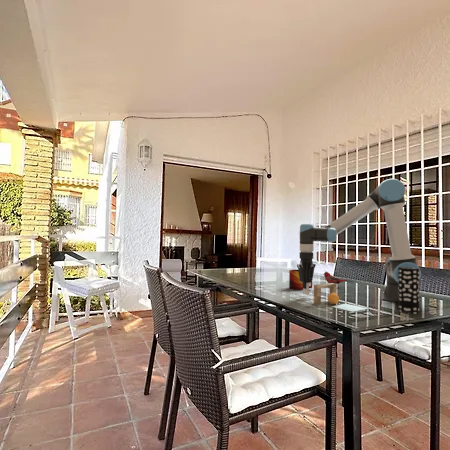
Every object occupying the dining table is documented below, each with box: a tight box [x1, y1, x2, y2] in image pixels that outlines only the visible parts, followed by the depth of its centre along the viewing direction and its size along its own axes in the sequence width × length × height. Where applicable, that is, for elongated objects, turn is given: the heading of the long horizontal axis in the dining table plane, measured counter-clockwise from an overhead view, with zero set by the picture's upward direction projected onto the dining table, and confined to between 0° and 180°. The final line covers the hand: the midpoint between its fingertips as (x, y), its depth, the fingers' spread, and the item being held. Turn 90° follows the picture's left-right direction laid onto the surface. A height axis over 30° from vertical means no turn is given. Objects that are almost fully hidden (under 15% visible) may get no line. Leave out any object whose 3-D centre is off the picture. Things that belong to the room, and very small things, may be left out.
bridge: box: [313, 282, 338, 305], centre depth 158 cm, size 3×14×9 cm, turn 123°
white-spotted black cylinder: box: [397, 267, 420, 315], centre depth 141 cm, size 8×8×20 cm
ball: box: [327, 293, 340, 305], centre depth 153 cm, size 6×6×6 cm
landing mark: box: [330, 303, 368, 313], centre depth 146 cm, size 12×12×1 cm
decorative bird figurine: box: [323, 271, 347, 285], centre depth 207 cm, size 3×18×10 cm, turn 42°
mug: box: [288, 269, 313, 291], centre depth 198 cm, size 10×14×12 cm
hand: (306, 294), depth 168 cm, fingers closed
